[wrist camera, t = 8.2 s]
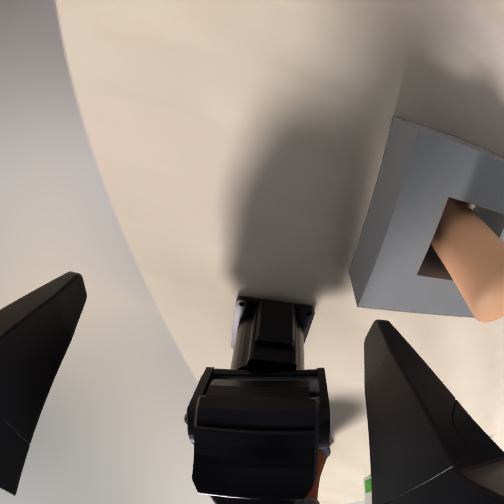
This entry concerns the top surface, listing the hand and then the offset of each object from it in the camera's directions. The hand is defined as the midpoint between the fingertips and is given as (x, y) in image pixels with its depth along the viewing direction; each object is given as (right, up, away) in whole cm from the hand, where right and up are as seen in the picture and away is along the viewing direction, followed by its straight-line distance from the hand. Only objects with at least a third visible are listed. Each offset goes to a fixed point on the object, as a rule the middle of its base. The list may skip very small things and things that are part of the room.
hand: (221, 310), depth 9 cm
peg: (+15, +4, +11) cm, 19 cm away
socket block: (+15, +4, +11) cm, 19 cm away
